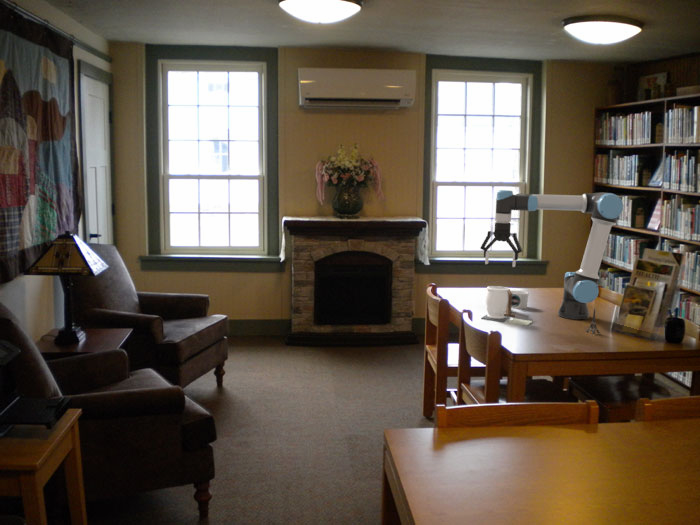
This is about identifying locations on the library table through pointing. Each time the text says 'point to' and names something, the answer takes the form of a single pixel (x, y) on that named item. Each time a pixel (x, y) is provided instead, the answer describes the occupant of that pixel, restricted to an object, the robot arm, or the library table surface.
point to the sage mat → (520, 321)
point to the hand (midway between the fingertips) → (500, 265)
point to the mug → (519, 299)
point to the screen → (509, 305)
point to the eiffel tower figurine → (593, 325)
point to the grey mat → (495, 319)
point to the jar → (496, 301)
